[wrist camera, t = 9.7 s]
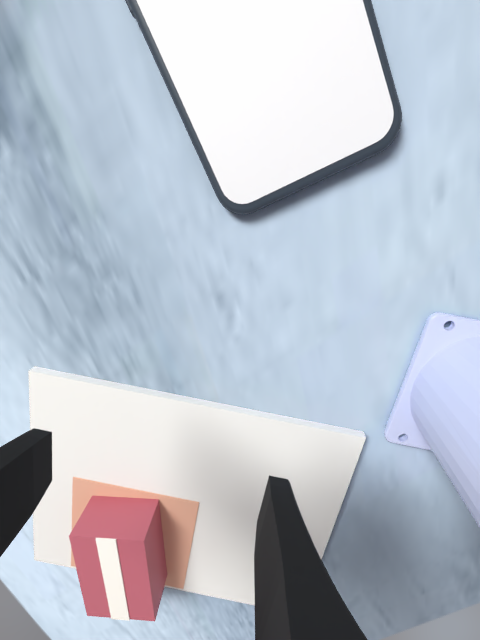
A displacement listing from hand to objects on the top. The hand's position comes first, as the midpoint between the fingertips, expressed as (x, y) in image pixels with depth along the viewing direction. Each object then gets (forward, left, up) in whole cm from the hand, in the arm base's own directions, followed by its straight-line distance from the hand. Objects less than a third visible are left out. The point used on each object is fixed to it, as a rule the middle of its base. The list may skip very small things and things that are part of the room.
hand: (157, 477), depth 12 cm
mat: (0, +11, -9) cm, 14 cm away
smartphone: (+1, -16, -10) cm, 19 cm away
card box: (+3, +15, -9) cm, 17 cm away
